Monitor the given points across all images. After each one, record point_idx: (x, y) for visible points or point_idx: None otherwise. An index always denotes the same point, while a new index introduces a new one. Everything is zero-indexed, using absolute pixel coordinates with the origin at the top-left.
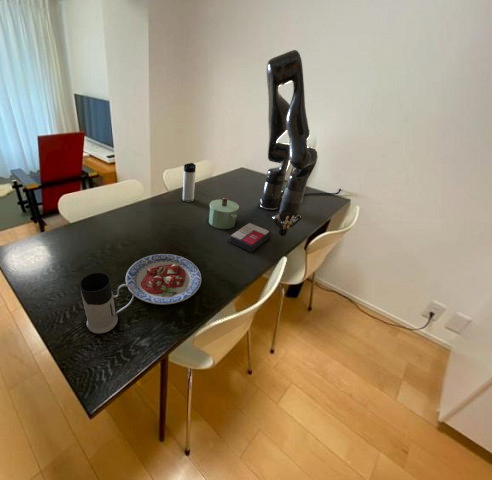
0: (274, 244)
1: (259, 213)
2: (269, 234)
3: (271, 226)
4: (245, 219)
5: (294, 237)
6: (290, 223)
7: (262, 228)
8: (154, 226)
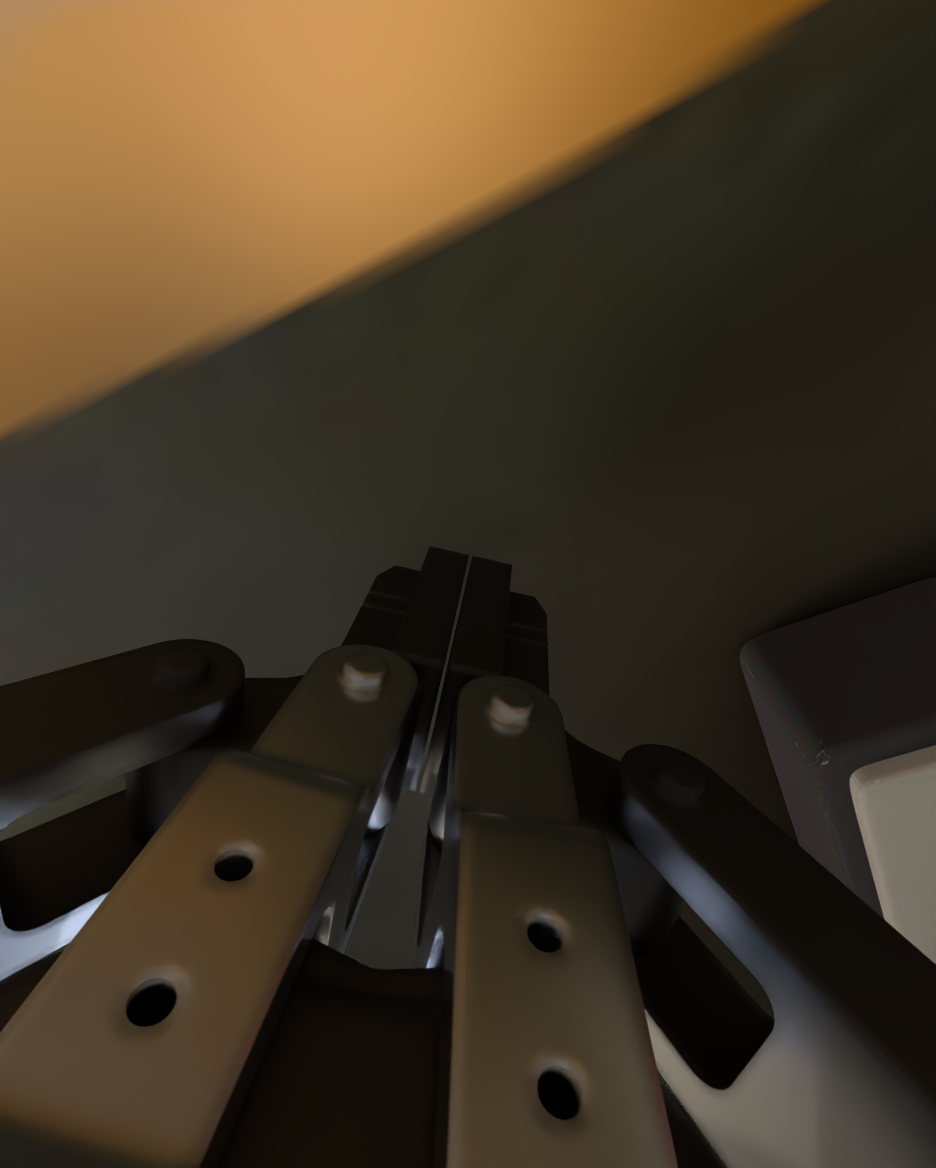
0: (816, 416)
1: None
2: (830, 699)
3: (370, 888)
4: None
5: (163, 487)
6: (254, 796)
7: (905, 919)
8: None
